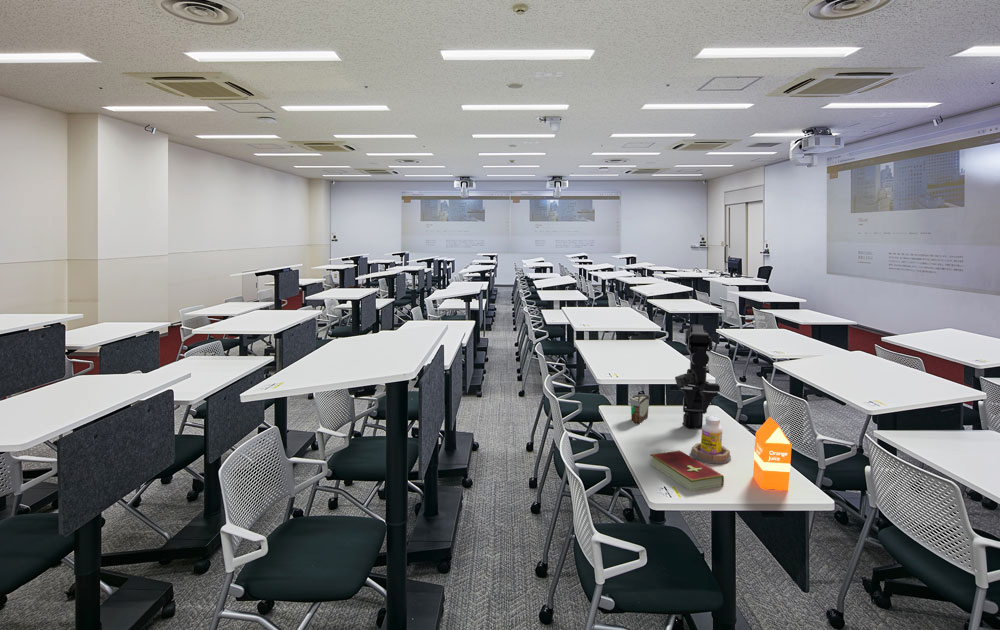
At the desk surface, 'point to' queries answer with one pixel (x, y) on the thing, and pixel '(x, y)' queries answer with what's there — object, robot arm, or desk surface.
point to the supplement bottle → (711, 436)
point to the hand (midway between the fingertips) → (696, 409)
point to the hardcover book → (687, 470)
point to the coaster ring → (709, 458)
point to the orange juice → (772, 457)
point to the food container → (639, 407)
